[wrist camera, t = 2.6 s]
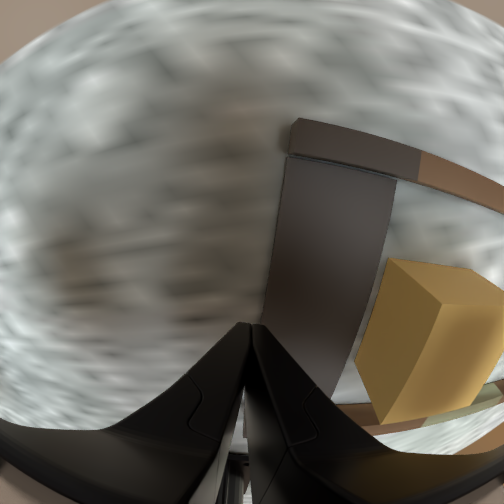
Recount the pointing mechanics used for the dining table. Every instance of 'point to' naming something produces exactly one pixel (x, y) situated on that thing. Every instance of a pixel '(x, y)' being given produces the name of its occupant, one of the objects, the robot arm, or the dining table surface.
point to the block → (430, 340)
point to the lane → (348, 250)
